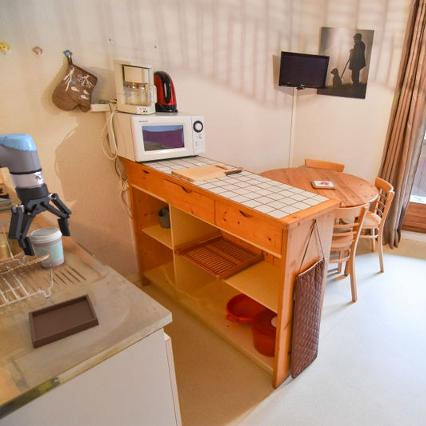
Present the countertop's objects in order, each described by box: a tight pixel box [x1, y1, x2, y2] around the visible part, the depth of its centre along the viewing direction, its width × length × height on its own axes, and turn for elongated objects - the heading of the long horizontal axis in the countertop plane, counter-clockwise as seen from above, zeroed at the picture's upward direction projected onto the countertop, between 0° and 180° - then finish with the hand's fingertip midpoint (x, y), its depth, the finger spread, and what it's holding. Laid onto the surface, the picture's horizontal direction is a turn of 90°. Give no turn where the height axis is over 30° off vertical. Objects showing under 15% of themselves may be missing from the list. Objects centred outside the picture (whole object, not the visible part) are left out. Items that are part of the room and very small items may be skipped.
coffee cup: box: [28, 226, 65, 269], centre depth 107 cm, size 8×9×12 cm
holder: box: [27, 293, 100, 349], centre depth 85 cm, size 13×13×2 cm
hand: (49, 245), depth 106 cm, fingers open, 13 cm apart
